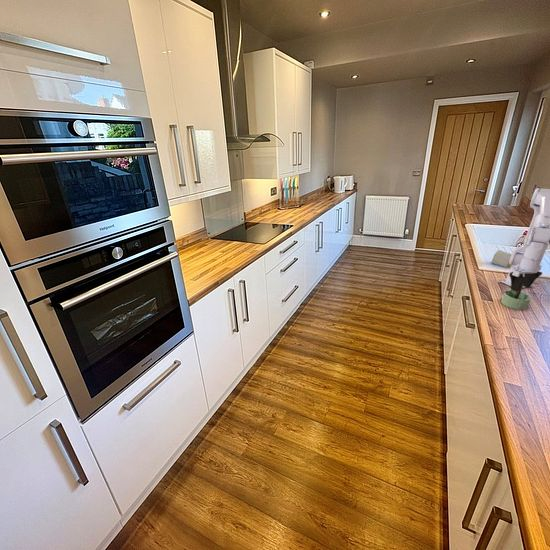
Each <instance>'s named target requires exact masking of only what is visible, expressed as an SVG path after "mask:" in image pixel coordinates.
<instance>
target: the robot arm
mask: <svg viewBox="0 0 550 550" xmlns="http://www.w3.org/2000/svg"><path fill="white" fill-rule="evenodd" d="M529 208H532V210H533V216H532V219H531V222H530V224H529V228H528V230H527V233H526V236H525V238H524V240H523V244H522V245H521V246H517V247H515V248H514V249H513V251H512V253H511V254H512V255H511V257H510V260H509V264H510V265H511V266H510V267H509V271H508V274H507V277H506V279H503V280H500V282H501V283H503V284H505V285H507V286H509V287H510V290H513V291H516V292H517V291H518V290H519V288H520V287H521V285H522V284H523V288H522V289H524V288H526V289H527V288H528V289H529V288H530V287H533V284H534V282H536V280H537V279H538V278H539V277H541V276H542V275H543V272H542V271H541V270H542V266H543V265H541V263H542V260H543V257H544V255H545V254H546V250H547V248H548V246H549V245H550V188H541V187H537V188H536V189H534V192H533V194H532V196H531V200H530V203H529Z"/></svg>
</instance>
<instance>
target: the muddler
mask: <svg viewBox="0 0 550 550" xmlns="http://www.w3.org/2000/svg"><path fill="white" fill-rule="evenodd" d="M523 289H524V288H523V284H522V285H521V287H520V288H519V290H518V291H517V293H516V295H515V299H518V298H519V295H520V293H521V292H522V290H523Z"/></svg>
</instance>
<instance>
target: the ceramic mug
mask: <svg viewBox="0 0 550 550" xmlns="http://www.w3.org/2000/svg"><path fill="white" fill-rule="evenodd" d="M511 255H512V253H510V252H506V251H503V250H500V249H499V250H497V251H496V252H494V254H493V256H492V258H491V264H493V265H496V266H501V267H504V268H511V265H510V264H509V260H510V257H511Z"/></svg>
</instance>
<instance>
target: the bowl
mask: <svg viewBox="0 0 550 550" xmlns="http://www.w3.org/2000/svg"><path fill="white" fill-rule="evenodd" d="M516 293H517V292H516V291H513V290H511V289H507V290H504V292H503V294H502V296H501V299H500V302H501V304H502V305H504V306H505V307H507V308H510V309H513V310H519V311H524V310H527V309H528V308H529V304H530V302H531V300H532V297H531V296H530V295H529V294H528V293H525V292H523V291H521V293H520V295H519V298H518V299H515V295H516Z"/></svg>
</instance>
